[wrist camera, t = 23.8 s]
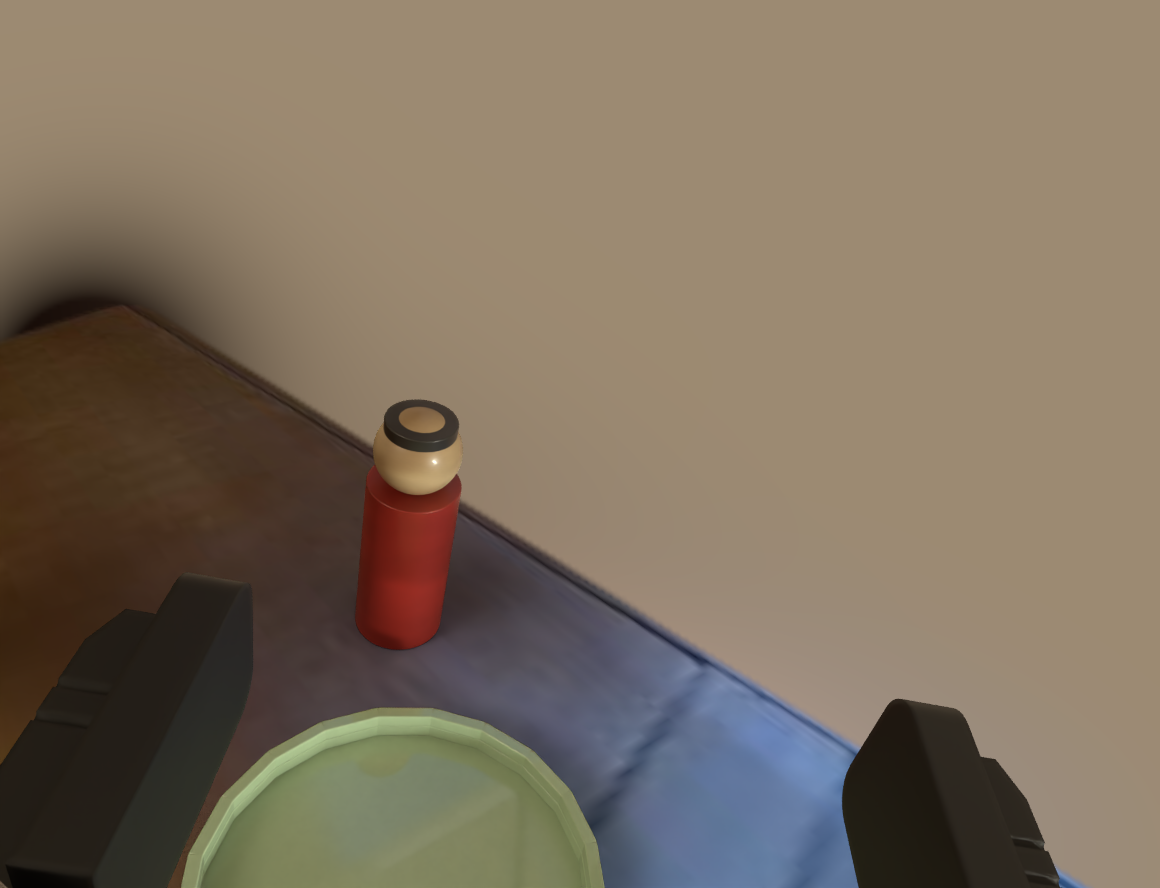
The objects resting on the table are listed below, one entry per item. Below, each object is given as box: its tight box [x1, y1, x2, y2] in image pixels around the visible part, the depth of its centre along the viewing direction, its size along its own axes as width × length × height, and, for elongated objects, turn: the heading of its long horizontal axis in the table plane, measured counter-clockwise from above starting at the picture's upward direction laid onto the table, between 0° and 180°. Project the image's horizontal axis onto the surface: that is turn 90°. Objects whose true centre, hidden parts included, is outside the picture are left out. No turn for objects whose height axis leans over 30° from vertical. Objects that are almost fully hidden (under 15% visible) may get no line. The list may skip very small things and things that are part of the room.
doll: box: [355, 400, 463, 650], centre depth 47 cm, size 5×5×14 cm
